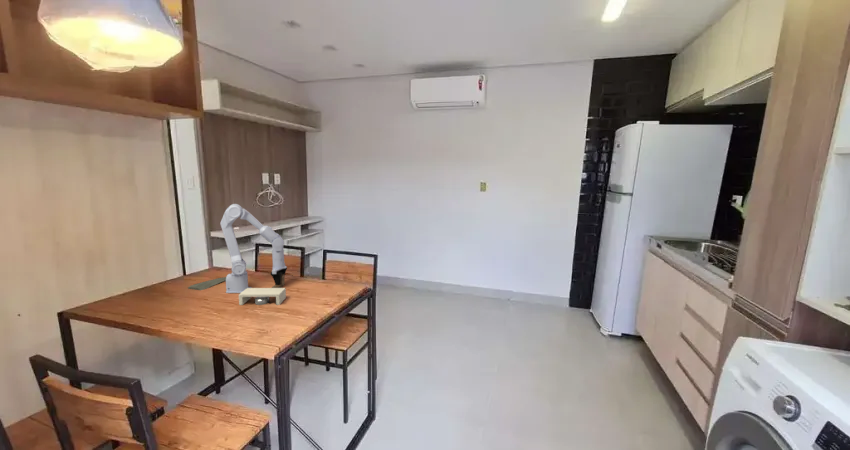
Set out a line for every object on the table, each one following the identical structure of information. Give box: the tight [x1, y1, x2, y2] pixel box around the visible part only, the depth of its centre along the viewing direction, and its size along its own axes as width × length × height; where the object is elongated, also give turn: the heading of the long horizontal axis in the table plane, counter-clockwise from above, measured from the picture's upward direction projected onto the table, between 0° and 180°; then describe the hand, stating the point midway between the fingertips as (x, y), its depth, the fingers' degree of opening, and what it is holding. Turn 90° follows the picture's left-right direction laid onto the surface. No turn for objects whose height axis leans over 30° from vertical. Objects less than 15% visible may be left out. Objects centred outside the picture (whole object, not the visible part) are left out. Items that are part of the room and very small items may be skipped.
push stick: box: [271, 274, 286, 288], centre depth 179 cm, size 4×17×6 cm, turn 3°
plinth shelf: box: [238, 287, 287, 306], centre depth 163 cm, size 18×9×5 cm, turn 94°
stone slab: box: [187, 276, 227, 291], centre depth 188 cm, size 22×3×10 cm
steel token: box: [254, 297, 270, 306], centre depth 162 cm, size 6×6×2 cm
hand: (279, 283), depth 185 cm, fingers closed on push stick, 5 cm apart
